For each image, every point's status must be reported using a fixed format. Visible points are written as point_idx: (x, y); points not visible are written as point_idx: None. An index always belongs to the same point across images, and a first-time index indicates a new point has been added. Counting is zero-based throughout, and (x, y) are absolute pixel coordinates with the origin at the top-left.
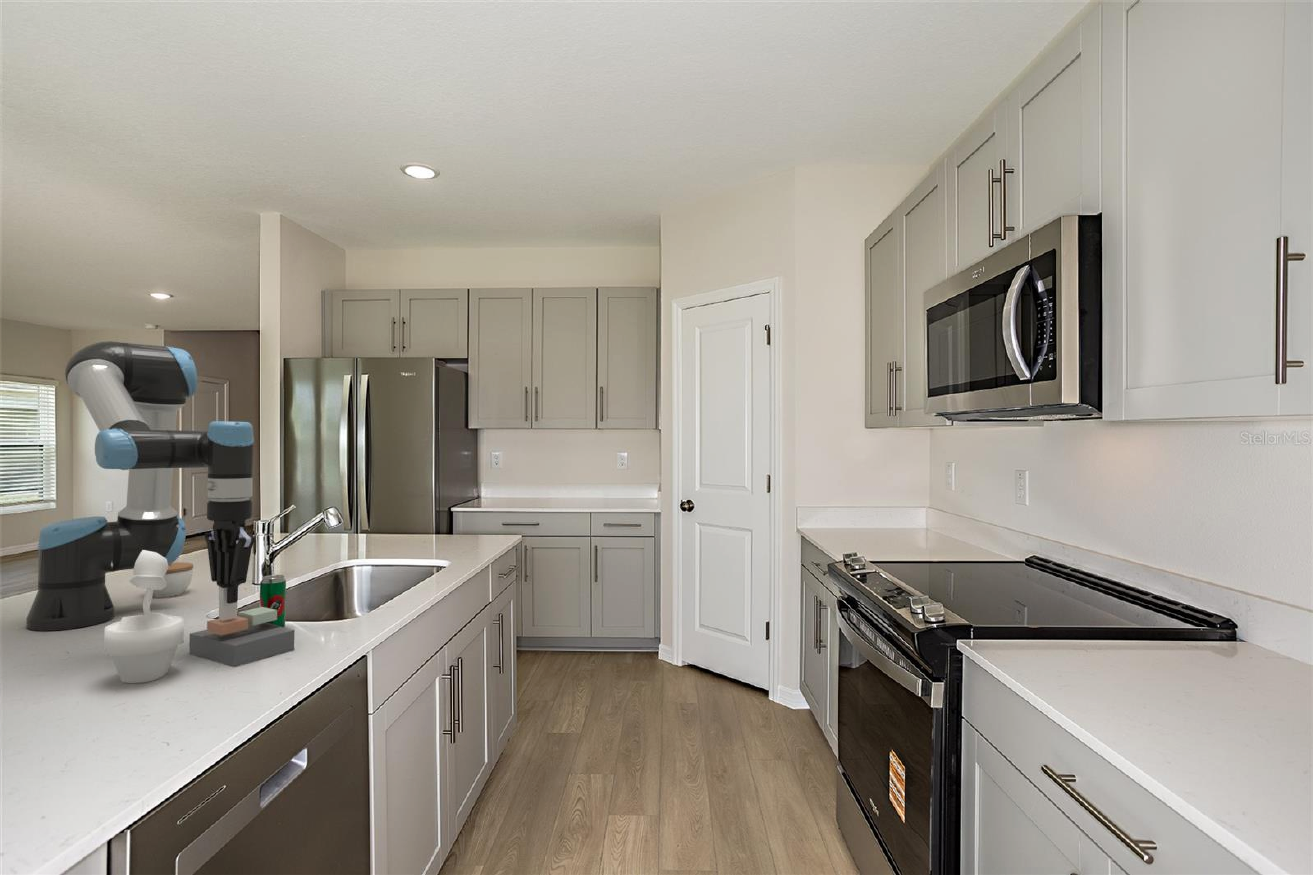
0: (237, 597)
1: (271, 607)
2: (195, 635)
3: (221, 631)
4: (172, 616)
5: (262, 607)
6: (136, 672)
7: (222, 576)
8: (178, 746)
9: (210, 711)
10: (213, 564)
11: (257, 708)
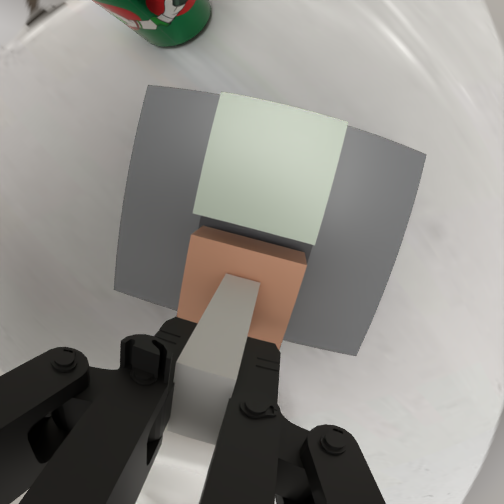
0: (278, 361)
1: (167, 2)
2: (143, 298)
3: None
4: (169, 460)
5: (232, 100)
6: None
7: (145, 469)
8: (442, 493)
9: (433, 456)
10: (21, 490)
11: (486, 428)
